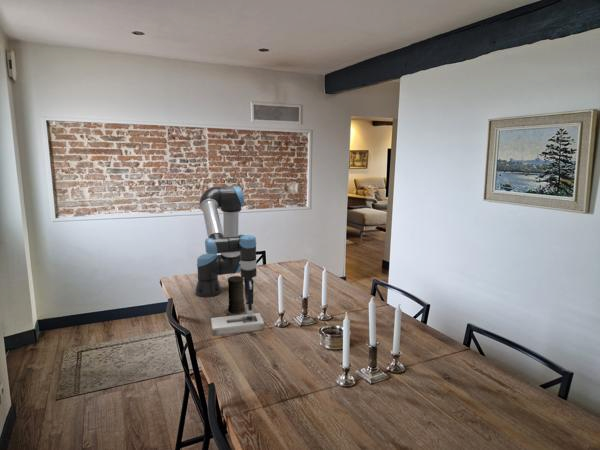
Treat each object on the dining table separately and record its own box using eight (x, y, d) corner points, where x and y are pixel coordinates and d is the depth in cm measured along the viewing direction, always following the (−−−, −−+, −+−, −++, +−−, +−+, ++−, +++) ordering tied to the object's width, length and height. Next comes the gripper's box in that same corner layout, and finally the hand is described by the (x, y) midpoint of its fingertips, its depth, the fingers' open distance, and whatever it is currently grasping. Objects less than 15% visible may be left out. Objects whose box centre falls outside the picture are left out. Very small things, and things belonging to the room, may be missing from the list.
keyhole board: (211, 324, 193) (211, 318, 192) (259, 319, 199) (259, 312, 199) (212, 335, 181) (212, 328, 181) (264, 329, 188) (263, 322, 187)
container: (246, 307, 214) (246, 275, 210) (242, 314, 205) (241, 281, 202) (230, 306, 215) (229, 275, 211) (225, 313, 206) (224, 280, 202)
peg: (243, 321, 193) (242, 292, 191) (254, 320, 195) (253, 291, 192) (245, 326, 188) (244, 296, 186) (255, 324, 190) (255, 295, 187)
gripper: (238, 264, 193) (239, 309, 197) (242, 273, 178) (243, 322, 183) (253, 263, 195) (254, 307, 199) (259, 272, 180) (259, 320, 185)
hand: (249, 314), depth 191 cm, fingers closed on peg, 2 cm apart
